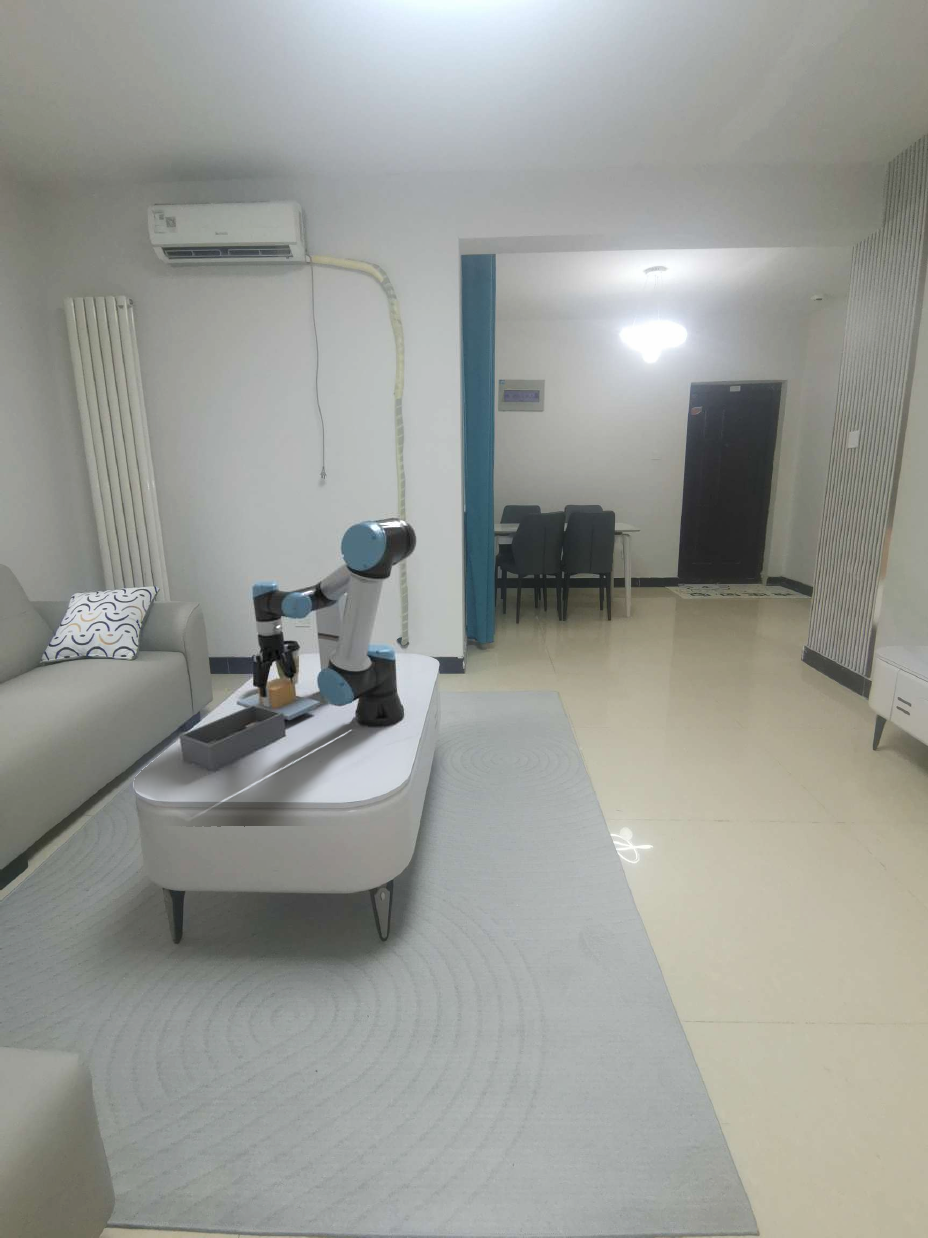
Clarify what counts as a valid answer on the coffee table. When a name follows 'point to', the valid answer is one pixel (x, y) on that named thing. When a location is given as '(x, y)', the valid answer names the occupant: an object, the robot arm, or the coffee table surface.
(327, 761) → the coffee table surface
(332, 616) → the tall white vase
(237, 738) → the tub
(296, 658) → the coffee cup
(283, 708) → the lid
